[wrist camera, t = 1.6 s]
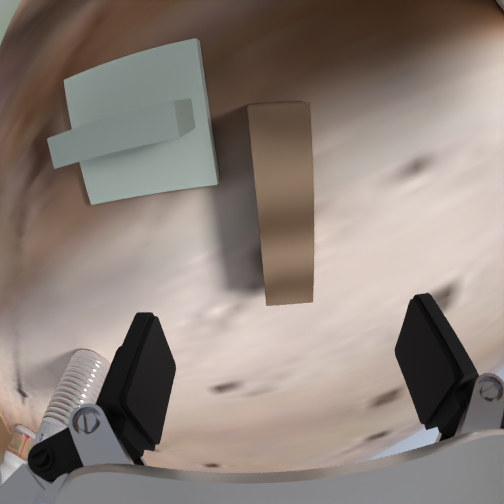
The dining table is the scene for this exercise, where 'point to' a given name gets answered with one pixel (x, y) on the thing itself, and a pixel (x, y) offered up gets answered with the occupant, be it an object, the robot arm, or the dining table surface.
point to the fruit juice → (17, 451)
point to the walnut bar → (284, 198)
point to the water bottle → (73, 391)
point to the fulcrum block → (140, 125)
